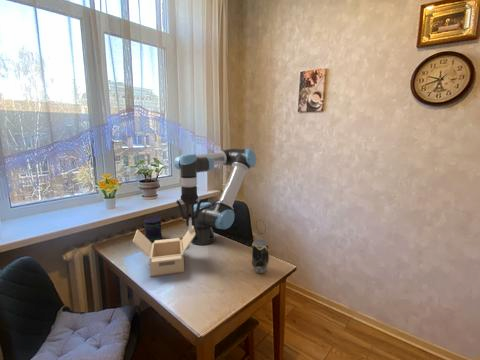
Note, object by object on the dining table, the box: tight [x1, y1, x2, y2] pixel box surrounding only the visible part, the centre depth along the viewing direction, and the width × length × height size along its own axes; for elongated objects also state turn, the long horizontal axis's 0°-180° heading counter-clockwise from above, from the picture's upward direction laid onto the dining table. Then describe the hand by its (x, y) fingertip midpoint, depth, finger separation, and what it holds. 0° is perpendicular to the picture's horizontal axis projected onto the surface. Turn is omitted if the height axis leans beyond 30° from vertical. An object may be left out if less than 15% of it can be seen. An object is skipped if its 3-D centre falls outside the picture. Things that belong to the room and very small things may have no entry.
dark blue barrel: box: [143, 216, 163, 245], centre depth 150 cm, size 10×10×15 cm
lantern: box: [251, 219, 270, 274], centre depth 119 cm, size 9×8×25 cm
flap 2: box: [182, 226, 196, 253], centre depth 125 cm, size 10×15×1 cm
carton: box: [149, 237, 185, 278], centre depth 124 cm, size 15×25×9 cm, turn 16°
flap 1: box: [132, 229, 152, 257], centre depth 119 cm, size 10×15×1 cm
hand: (190, 231), depth 125 cm, fingers closed
